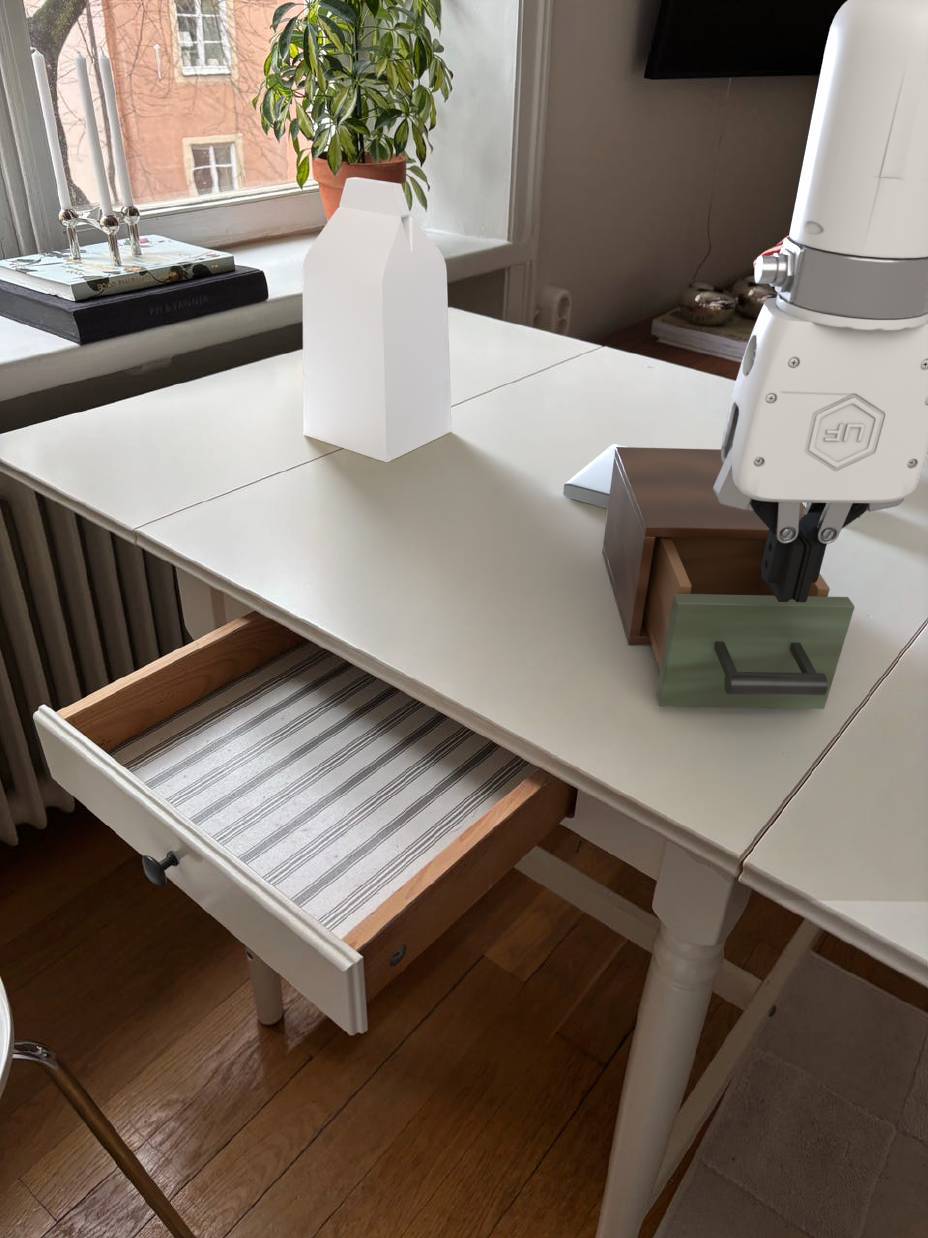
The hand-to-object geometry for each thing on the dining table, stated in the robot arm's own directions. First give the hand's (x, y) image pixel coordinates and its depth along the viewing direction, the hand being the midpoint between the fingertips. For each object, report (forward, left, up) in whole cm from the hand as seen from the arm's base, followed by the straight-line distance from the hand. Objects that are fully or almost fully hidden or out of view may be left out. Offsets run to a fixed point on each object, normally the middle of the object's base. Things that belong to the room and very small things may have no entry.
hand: (785, 590), depth 58 cm
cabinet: (0, -18, -11) cm, 21 cm away
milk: (+28, -52, -11) cm, 60 cm away
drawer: (0, -6, -10) cm, 12 cm away
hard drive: (+2, -40, -11) cm, 41 cm away
